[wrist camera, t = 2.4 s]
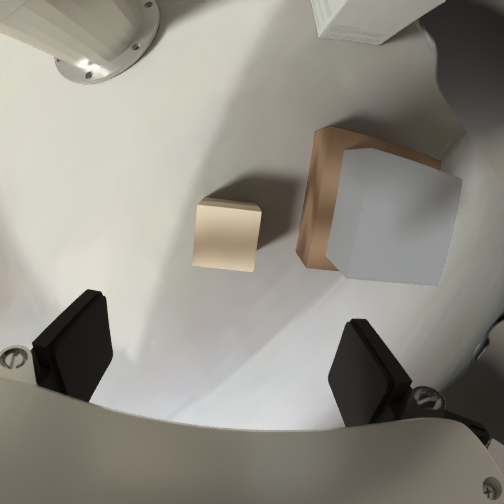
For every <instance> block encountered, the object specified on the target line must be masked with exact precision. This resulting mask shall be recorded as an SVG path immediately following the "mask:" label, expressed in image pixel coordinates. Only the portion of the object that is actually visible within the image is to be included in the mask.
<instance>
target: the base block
mask: <svg viewBox="0 0 504 504" xmlns="http://www.w3.org/2000/svg"><path fill="white" fill-rule="evenodd" d="M364 148H373V149H377V150H380V151H383V152H387V153H390V154H393V155H397V156H400V157H403V158H406V159H409V160H412V161H415V162H418V163H421V164H423V165H426V166H429V167H432V168H434V169H437V170H440V166H441V161H439V160H437V159H434V158H432V157H429V156H427V155H424V154H421V153H419V152H416V151H413V150H410V149H408V148H405V147H402V146H399V145H396V144H393V143H390V142H387V141H383V140H380V139H377V138H374V137H370V136H367V135H363V134H360V133H356V132H352V131H349V130H345V129H341V128H337V127H333V126H328V127H326V128H323V129H321V130H318V131H315V134H314V142H313V149H312V156H311V163H310V169H309V176H308V182H307V188H306V195H305V201H304V207H303V213H302V219H301V224H300V230H299V236H298V241H297V247H296V253H297V255H298V256H299V258H300V259H301V261H302V262H303V264H304V265H305V267H306V268H313V269H322V270H332V271H339V270H338V269H337V268H336V267H335V266H334V265H333V264H332V262H331V261H330V260H329V259H328V258H327V257H326V256H325V255H326V251H327V246H328V241H329V236H330V231H331V226H332V220H333V215H334V210H335V204H336V198H337V193H338V187H339V180H340V174H341V168H342V161H343V154H344V150H352V149H364Z"/></svg>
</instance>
